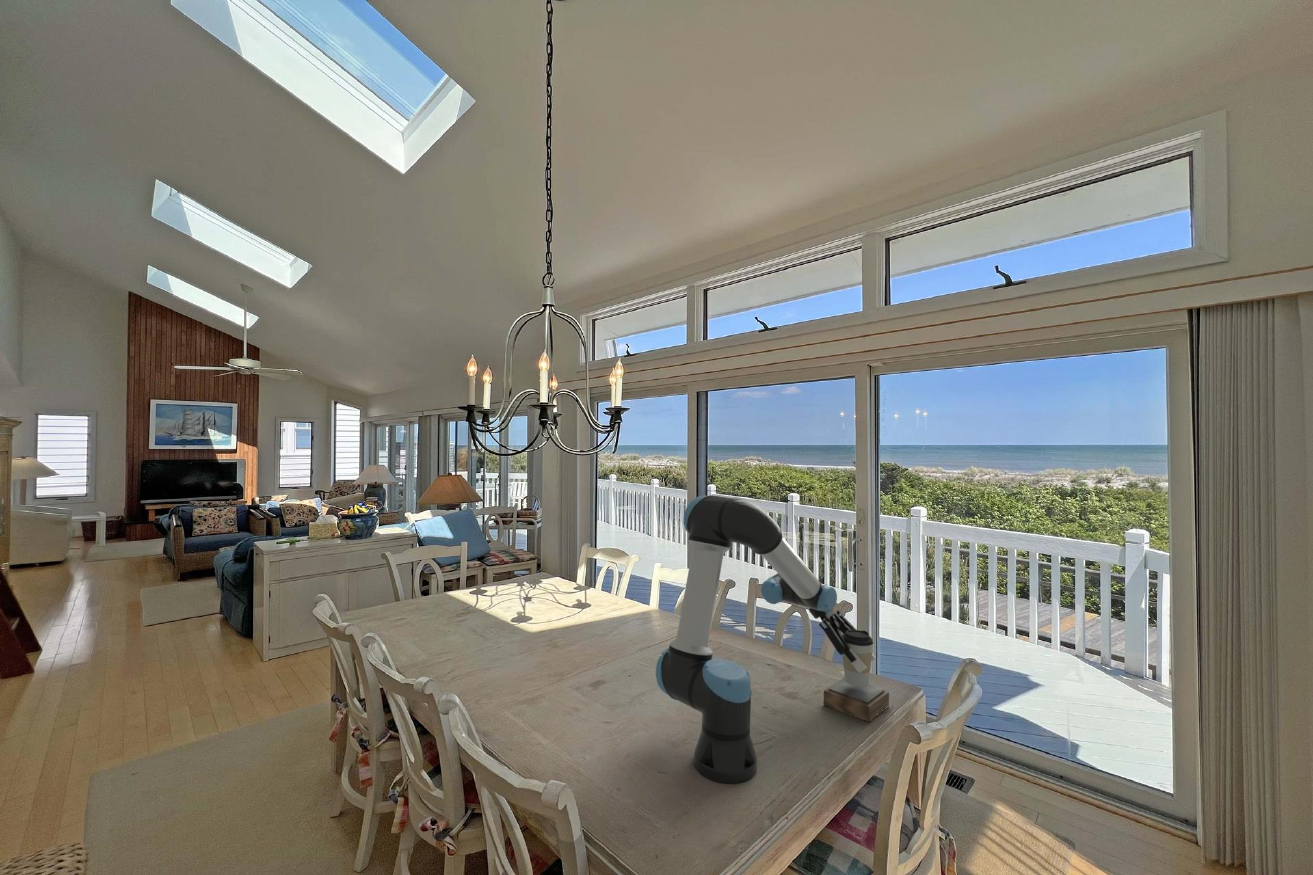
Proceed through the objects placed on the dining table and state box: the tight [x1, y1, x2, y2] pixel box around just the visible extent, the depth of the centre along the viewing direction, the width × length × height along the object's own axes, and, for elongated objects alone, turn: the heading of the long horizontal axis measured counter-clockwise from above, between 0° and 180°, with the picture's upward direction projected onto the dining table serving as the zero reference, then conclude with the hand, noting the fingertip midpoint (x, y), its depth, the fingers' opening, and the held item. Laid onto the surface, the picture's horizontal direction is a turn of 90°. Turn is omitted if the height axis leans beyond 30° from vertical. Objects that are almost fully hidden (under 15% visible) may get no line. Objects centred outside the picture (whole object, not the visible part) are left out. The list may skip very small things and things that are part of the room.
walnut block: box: [823, 676, 890, 722], centre depth 162 cm, size 14×14×5 cm
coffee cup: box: [842, 629, 874, 687], centre depth 162 cm, size 9×9×15 cm
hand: (867, 665), depth 160 cm, fingers closed on coffee cup, 9 cm apart
